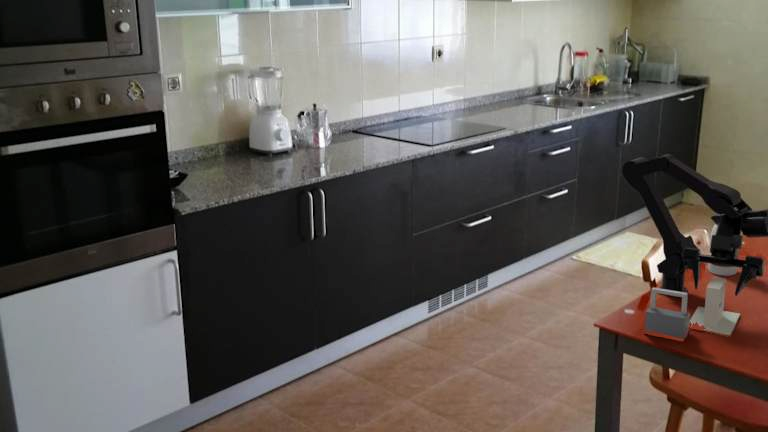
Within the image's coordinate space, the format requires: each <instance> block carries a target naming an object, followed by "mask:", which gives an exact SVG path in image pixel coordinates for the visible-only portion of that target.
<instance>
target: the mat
mask: <svg viewBox="0 0 768 432" xmlns="http://www.w3.org/2000/svg"><path fill="white" fill-rule="evenodd" d="M704 312H705V306H704V307H703V306H697V308H696V309H695V311H694V313H693V315H692V316H691V317H690V322H691V324H692V325H693V323H694V324H695V323H696V322H697V323H698V325H699V326H700V327H701V326H702V325H703V324H704ZM740 316H741V313H739V312H734V311H733V312H732V311H726V310H723V316H722V318H721V320H720V322H719V324H718V326H717V327H710V326H705V325H703V326H704V327H705V328H706V329H704V330H708V331H713V332H716V333H720V334H725V335H731V336H732V334H731V333H733V332H734V329H735V328H736V325H737V323H738V321H739V320H740V319H739V318H740ZM691 327H692V326H691ZM732 331H733V332H732Z"/></svg>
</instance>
